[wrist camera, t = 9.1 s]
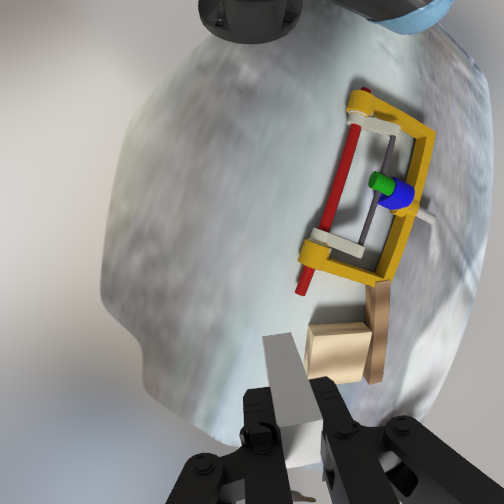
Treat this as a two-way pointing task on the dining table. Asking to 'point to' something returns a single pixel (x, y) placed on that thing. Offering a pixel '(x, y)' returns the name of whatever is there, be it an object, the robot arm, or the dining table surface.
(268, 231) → the dining table surface
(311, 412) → the robot arm
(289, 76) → the dining table surface
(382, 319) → the board
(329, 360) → the block
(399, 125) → the mechanical clamp
